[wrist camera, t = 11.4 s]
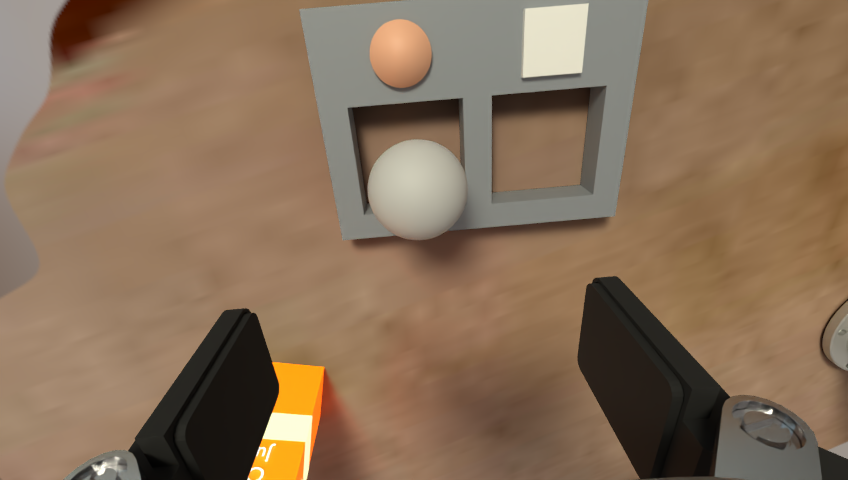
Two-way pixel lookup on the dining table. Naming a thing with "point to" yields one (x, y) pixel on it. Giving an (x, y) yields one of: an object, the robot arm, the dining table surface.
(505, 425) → the dining table surface
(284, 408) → the orange juice
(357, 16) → the socket board
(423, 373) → the dining table surface
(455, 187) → the lightbulb
